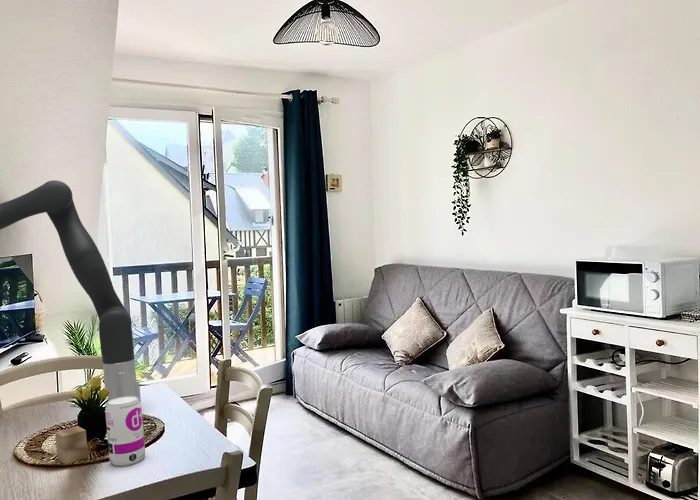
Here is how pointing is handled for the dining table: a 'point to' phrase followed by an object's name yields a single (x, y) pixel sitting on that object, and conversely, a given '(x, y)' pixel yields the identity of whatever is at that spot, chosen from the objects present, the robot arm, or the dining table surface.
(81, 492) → the dining table surface
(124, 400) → the supplement can
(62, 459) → the beige wooden block
